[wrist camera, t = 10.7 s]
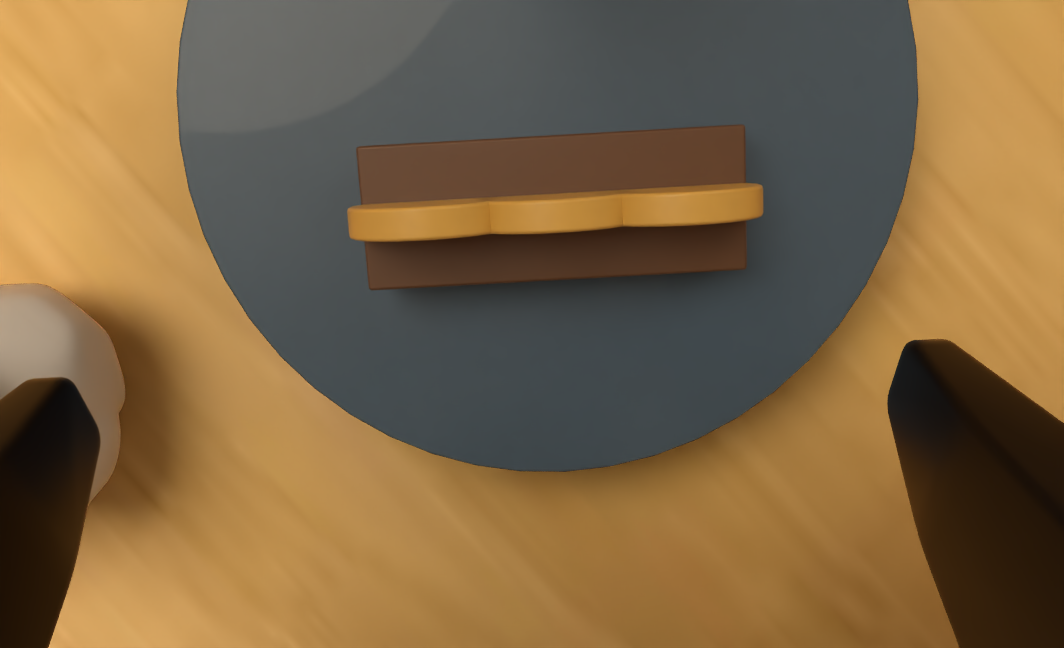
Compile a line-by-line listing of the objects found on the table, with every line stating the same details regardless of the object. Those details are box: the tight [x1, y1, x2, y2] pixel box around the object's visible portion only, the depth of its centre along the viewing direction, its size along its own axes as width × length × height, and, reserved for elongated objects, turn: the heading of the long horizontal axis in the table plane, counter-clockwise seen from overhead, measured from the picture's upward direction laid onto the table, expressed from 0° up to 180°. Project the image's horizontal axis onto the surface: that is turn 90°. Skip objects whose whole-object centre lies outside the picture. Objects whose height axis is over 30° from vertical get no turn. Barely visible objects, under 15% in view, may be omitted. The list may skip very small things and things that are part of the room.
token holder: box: [177, 0, 918, 472], centre depth 12 cm, size 13×13×11 cm
